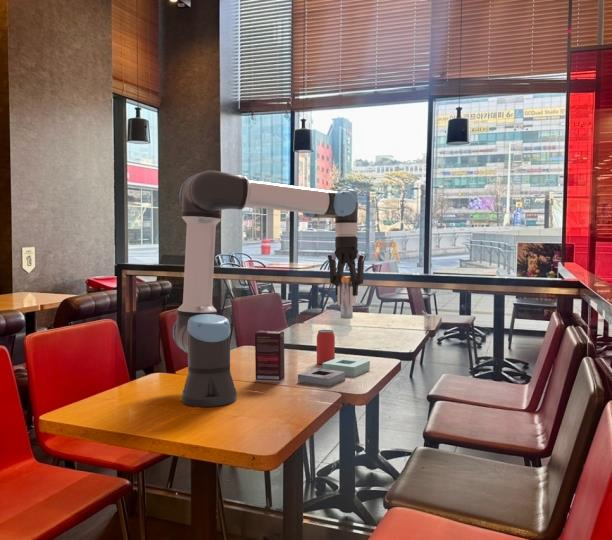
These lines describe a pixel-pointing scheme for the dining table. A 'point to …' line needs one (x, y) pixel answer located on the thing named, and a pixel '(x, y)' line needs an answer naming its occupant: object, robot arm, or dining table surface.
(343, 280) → the pin
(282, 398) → the dining table surface
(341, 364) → the socket block
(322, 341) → the beer can
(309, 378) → the mount
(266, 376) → the supplement box
